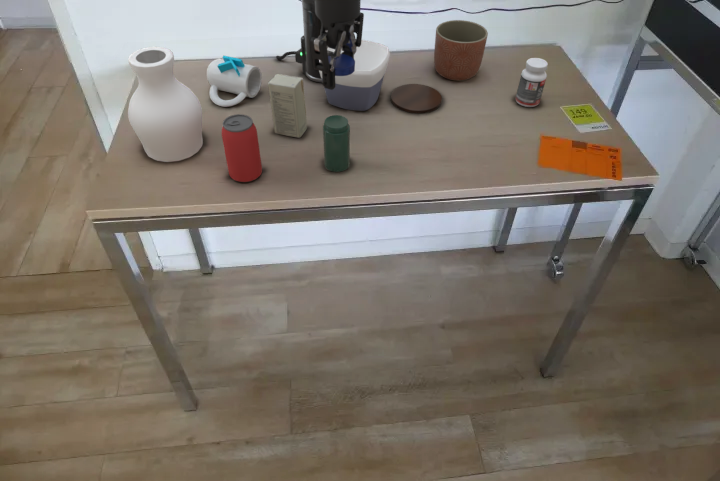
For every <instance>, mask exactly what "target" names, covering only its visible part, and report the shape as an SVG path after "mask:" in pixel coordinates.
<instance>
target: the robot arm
mask: <svg viewBox="0 0 720 481" xmlns="http://www.w3.org/2000/svg"><path fill="white" fill-rule="evenodd" d="M301 4H302V5H301V8H302V23H303V24H302V25H303V35H302V36H301V37H300V48H299V49H298V50H294V51H293V50H292V51H291V50H290V51H287V52H285V53H283V54H282V55H276V56H275V58H276V60H280V61H282V60H284V59H285V58H286V57H288V56H293V55H294V57H295V62H296V63H298V64H301V69H302V75H304V76H305V77H306V78H307V79H309V80H310V81H312V82H315V83H319V84H320V83H322V87H323V88H327V89H330V90H333V89H334V88H335V70H334V69H335V65H336V60H337V58H339V57H340V53H341V49H342V51H344V52H342V53H341V54H345V55H348V56H350V57H352V58H353V59H354V54H355V53H356V47H360V46H361V41H362V40H363V30H364V29H363V28H364V18H365V13H364V12H361V0H301ZM328 47H329V48H332V49H335V51H334V52H332V51H328V50H327V48H328ZM328 56H330V57H331V61H330V63H329V60H328ZM319 60H320V63H319ZM319 70H320V71H322V79H321V76H320V72H319Z"/></svg>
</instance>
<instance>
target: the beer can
mask: <svg viewBox="0 0 720 481" xmlns="http://www.w3.org/2000/svg"><path fill="white" fill-rule="evenodd" d="M221 139H222V144H223V149H224V155H225V160H226V165H227V171H228V175H229V177H230V178H231V179H232V180H234V181H235V182H238V183H250V182H253V181H255V180H257V179H258V178H260V176H261V175H262V172H263V166H262V160H261V159H262V158H261V151H260V144H259V137H258V131H257V127H256V124H255V123H254V120H253V118H252V117H250V116H249V115H247V114H243V113H237V114H231V115H229V116H227V117H226V118H224V120H223V121H222V127H221Z"/></svg>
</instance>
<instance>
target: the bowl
mask: <svg viewBox="0 0 720 481" xmlns="http://www.w3.org/2000/svg"><path fill="white" fill-rule="evenodd" d="M327 50H328V51H332V52H334V51H335V49H332V48H329V47H328V48H327ZM342 52H344V51H342V49H341V53H342ZM341 53H340V54H341ZM390 58H391V51H390V48H389V47H388V46H387V45H384V44H381V43H379V42H375V41H371V40H365V39H362V41H361V46H360V47H356V53H355V54H354V60H355V71H354V72H353V73H352V74H350V75H347V76H335V88H334V89H333V90H330V89H327V88H324V87H323V88H324V92H325V95H326V99H327V102H328V104H330V105H332V106H334V107H337V108H340V109H343V110H349V111H359V112H363V111H368V110H370V109H371V108H372V107H373V106H374V105H375V104H376V103H377V101H378V99H379V96H380V92H381V89H382V85H383V83H384V82H383V81H384V79H385V75H386V72H387V68H388V65H389V61H390ZM319 63H320V60H319ZM319 72H320V76H321V79H322V71H320V70H319Z"/></svg>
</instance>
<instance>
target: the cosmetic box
mask: <svg viewBox="0 0 720 481" xmlns="http://www.w3.org/2000/svg"><path fill="white" fill-rule="evenodd" d="M267 87H268V94H269V101H270V102H269V103H270V109H271V114H272V122H273V129H274V134H277V135H282V136H288V137H294V138H299V139H300V138H301V137H302V136H303V135H304V134H305V132H306V130H307V129H308V121H307V120H308V119H307V109H306V99H305V98H306V97H305V89H304V78H303V77H300V76H299V77H298V76H294V75H287V74H281V73H276V74H275V75H274V76H272V78H271V79H270V80H269V81H267Z"/></svg>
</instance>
